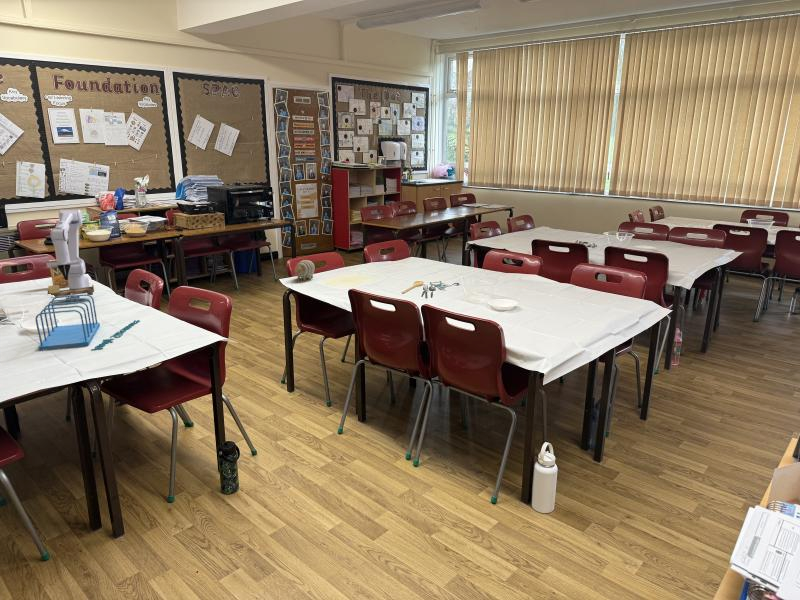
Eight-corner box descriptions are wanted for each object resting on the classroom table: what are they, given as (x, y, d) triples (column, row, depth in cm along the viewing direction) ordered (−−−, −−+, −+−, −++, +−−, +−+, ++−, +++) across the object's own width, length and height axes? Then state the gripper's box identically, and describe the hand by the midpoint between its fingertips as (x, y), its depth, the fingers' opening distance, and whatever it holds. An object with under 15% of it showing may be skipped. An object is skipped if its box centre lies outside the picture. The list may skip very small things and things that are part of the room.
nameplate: (88, 351, 218) (101, 351, 218) (88, 349, 218) (101, 349, 218) (132, 321, 254) (143, 321, 254) (132, 320, 253) (143, 320, 253)
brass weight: (49, 294, 276) (48, 287, 275) (49, 292, 279) (48, 286, 278) (59, 293, 278) (58, 286, 277) (59, 291, 281) (58, 284, 280)
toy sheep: (290, 281, 325) (289, 262, 322) (305, 274, 340) (304, 256, 337) (306, 282, 322) (306, 263, 319) (320, 276, 337) (320, 258, 334)
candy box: (53, 288, 306) (48, 261, 302) (53, 286, 310) (49, 259, 306) (72, 286, 310) (67, 259, 306) (72, 285, 314) (67, 258, 309)
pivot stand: (65, 304, 277) (64, 294, 276) (66, 299, 286) (64, 288, 285) (79, 303, 280) (78, 292, 278) (79, 297, 289) (78, 287, 288)
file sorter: (55, 330, 241) (49, 296, 236) (100, 326, 246) (95, 293, 242) (39, 351, 218) (32, 313, 214) (89, 346, 223) (83, 309, 219)
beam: (48, 300, 275) (47, 293, 274) (49, 297, 281) (48, 290, 279) (94, 295, 285) (93, 287, 283) (94, 292, 290) (93, 284, 289)
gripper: (44, 255, 273) (49, 283, 276) (78, 253, 279) (82, 279, 283) (45, 253, 279) (49, 280, 282) (78, 250, 285) (82, 276, 289)
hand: (66, 279), depth 283 cm, fingers closed
